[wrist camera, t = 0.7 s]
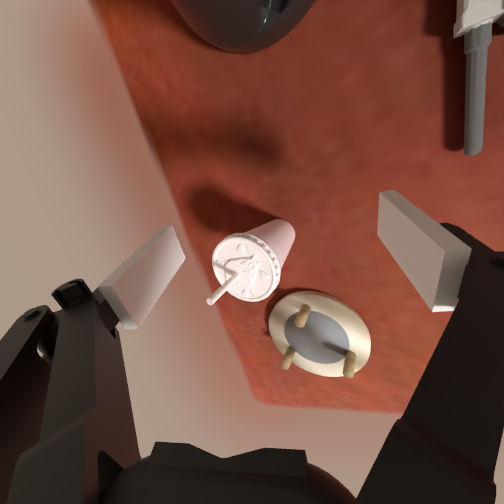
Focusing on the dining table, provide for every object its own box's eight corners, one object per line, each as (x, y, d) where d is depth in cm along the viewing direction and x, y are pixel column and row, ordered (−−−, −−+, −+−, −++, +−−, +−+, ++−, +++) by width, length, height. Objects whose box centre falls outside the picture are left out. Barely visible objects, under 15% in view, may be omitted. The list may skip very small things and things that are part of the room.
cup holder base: (281, 275, 31) (270, 292, 28) (389, 318, 27) (390, 344, 24) (264, 342, 37) (253, 362, 34) (348, 385, 33) (345, 412, 30)
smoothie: (246, 229, 30) (166, 285, 19) (280, 195, 27) (206, 240, 15) (279, 267, 31) (219, 345, 19) (318, 239, 27) (272, 315, 15)
